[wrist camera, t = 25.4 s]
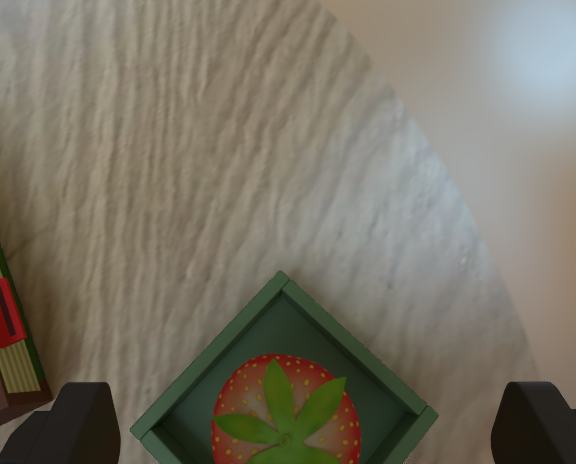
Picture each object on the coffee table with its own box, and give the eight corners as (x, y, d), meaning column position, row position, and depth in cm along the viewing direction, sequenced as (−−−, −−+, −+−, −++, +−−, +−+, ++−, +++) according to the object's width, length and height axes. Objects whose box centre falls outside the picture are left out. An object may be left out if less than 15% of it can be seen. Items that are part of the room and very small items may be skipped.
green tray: (421, 410, 22) (440, 415, 19) (290, 576, 20) (293, 605, 17) (279, 280, 23) (280, 269, 21) (145, 423, 21) (128, 429, 19)
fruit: (367, 429, 21) (421, 464, 13) (273, 515, 20) (274, 606, 12) (288, 331, 22) (297, 310, 14) (196, 408, 21) (151, 430, 13)
